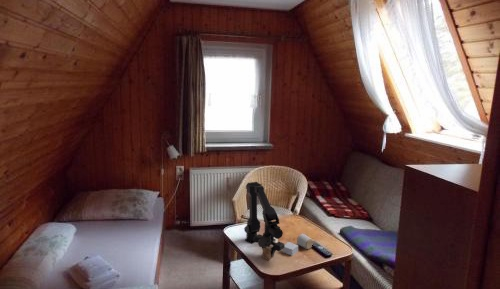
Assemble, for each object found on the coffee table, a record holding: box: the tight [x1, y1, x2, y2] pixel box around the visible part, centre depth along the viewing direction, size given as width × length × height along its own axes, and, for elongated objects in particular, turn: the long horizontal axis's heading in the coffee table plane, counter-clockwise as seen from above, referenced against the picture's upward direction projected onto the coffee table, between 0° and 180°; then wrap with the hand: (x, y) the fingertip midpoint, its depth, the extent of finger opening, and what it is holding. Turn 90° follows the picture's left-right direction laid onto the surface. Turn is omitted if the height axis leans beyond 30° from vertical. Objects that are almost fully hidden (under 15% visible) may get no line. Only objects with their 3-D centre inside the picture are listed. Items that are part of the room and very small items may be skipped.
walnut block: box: [262, 246, 275, 261], centre depth 199 cm, size 5×5×6 cm
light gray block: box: [281, 241, 299, 256], centre depth 206 cm, size 7×7×4 cm
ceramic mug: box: [296, 233, 314, 250], centre depth 213 cm, size 11×8×8 cm
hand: (268, 255), depth 200 cm, fingers closed on walnut block, 5 cm apart
